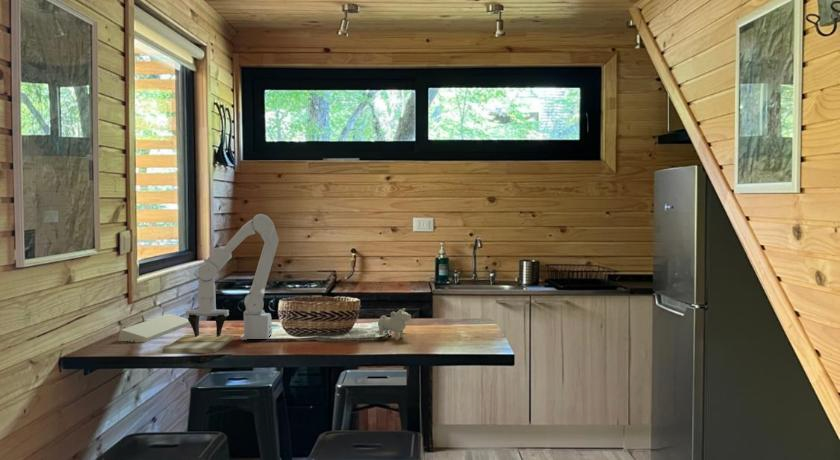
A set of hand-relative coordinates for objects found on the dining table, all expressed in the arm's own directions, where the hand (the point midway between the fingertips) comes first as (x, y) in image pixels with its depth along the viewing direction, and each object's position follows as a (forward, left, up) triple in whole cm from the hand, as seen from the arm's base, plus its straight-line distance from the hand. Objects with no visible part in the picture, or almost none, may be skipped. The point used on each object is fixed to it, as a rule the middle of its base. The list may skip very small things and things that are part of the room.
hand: (207, 336), depth 238 cm
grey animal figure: (-65, -5, -2) cm, 65 cm away
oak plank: (0, +3, -1) cm, 3 cm away
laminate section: (0, +14, -2) cm, 14 cm away
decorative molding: (+24, -15, -2) cm, 29 cm away
